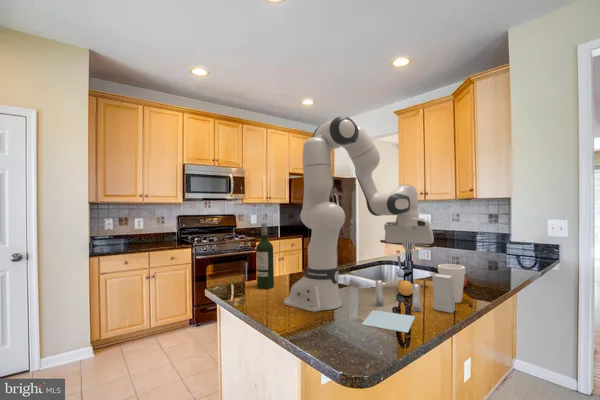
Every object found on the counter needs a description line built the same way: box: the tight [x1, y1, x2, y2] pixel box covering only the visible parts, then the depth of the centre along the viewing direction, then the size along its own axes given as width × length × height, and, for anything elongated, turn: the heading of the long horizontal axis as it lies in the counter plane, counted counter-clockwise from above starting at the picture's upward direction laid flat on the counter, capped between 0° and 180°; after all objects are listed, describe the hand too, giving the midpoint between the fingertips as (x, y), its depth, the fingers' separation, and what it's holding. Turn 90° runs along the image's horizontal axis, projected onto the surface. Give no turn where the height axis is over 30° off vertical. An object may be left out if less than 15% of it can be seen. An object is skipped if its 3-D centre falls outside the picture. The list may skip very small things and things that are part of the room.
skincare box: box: [431, 273, 456, 314], centre depth 106 cm, size 6×4×12 cm
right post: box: [411, 283, 422, 312], centre depth 107 cm, size 3×3×9 cm
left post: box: [375, 279, 384, 307], centre depth 113 cm, size 3×3×9 cm
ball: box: [397, 280, 413, 297], centre depth 124 cm, size 6×6×6 cm
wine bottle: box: [255, 222, 275, 290], centre depth 142 cm, size 8×8×30 cm
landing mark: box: [361, 309, 416, 334], centre depth 97 cm, size 14×14×1 cm
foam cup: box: [437, 263, 466, 304], centre depth 116 cm, size 10×9×13 cm
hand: (409, 253), depth 133 cm, fingers closed
